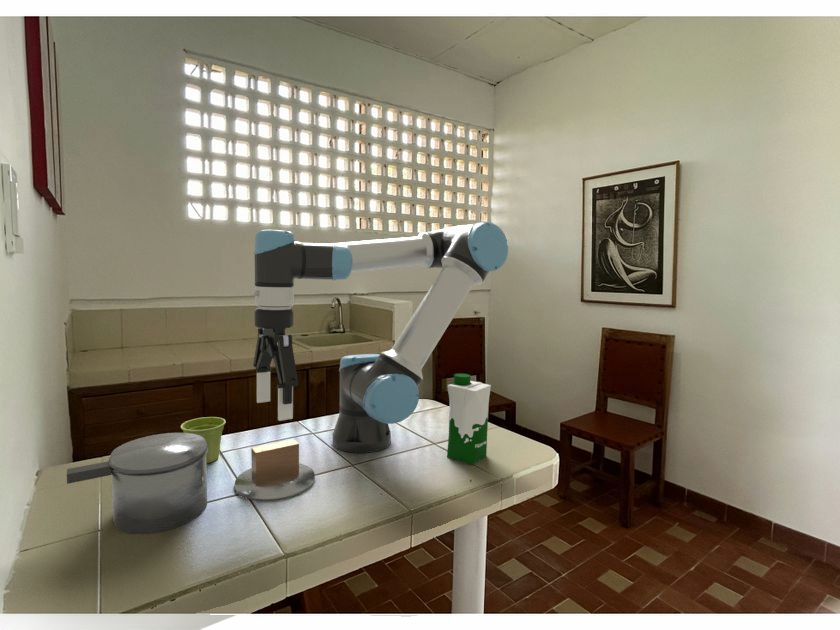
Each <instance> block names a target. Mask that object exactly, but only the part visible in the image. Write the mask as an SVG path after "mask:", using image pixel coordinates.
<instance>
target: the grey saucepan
mask: <svg viewBox="0 0 840 630" xmlns="http://www.w3.org/2000/svg"><path fill="white" fill-rule="evenodd" d="M207 452H208V444H207V443H206V440H205V439H204V438H203V437H202V436H199V435H196V434H191V433H183V432H167V433H159V434H152V435H147V436H143V437H140V438H136V439H132V440H130V441H127V442H125V443H122V444H121V445H119V446H118V447H116V448H114V449H113V450H112V452H111V453H110V456H109V458H108V461H103V462H98V463H93V464H86V465H81V466H75V467H71V468H70V467H69V468H67V469H66V485H68V484H74V483H77V482H78V483H79V482H83V481H88V480H94V479H97V478H103V477H108V476H111V494H112V496H111V499H112V519H113V520H112V522H113V525H114V527H115V528H116V530H118V531H120V532H122V533H126V534H130V535H131V534H133V535H145V534H146V535H147V534H148V535H149V534H154V533H160V532H164V531H168V530H169V531H170V530H172V529H176V528H178V527H181V526H183V525H185V524H188V523H190V522H192V521H193V520H195V519H197V518H198V517H199V516H200V515H201V514H202V513H204V511H205V510H206V508H207V506H208V482H207V479H208V478H207V477H208V475H207V463H206V454H207Z"/></svg>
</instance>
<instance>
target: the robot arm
mask: <svg viewBox="0 0 840 630" xmlns="http://www.w3.org/2000/svg"><path fill="white" fill-rule="evenodd" d="M254 241H255V242H254V252H253V254H254V291H252V292H251V294H252V296H253V297H254V305H255V306H256V307H257V308H255V310H254V326H255V327H256V328H258V329H257V340H256V346H255V351H254V357H253V364H252V366H253V367H254V368H255V371H256V403H257V404H259V403H260V404H261V403H267V402H271V371H272V367H271V364H272V361H273V362H274V365H275V369H276V370H275V371H276V374H277V378H278V382H279V383H278V384H276V389H277V421H279V422H280V421H287V420H292V419H293V418H294V388H295V386H299V381H298V380H299V379H298V374H297V367H296V361H295V354H294V348H293V336H292V335H291V334H288V335H287V334H286V329H290V328H292V327H293V326H294V310H293V309H292V307H293V306H294V305H295V286H294V284H295V283H294V282H295V279H297V280H300V279H303V280H304V279H305V280H307V279H308V280H331V281H336V280H340V281H341V280H347V279H348V278H349V277H350V276H351V274H352V273H361V272H370V271H371V272H372V271H378V270H388V269H389V270H390V269H400V268H407V267H416V266H420V267H422V268H423V269H434V268H435V269H436V268H437V269H439V268H440V269H441V270H440V272H439V273H438V275H437V277H436V278H435V280H434V282H433V283H432V284H431V286H430V287H429V290H428V291H427V293H426V294H425V295H424V297H423V299H422V300H421V302H420V303H419V304H418V306H417V308H416V309H415V311H414V313H413V314H412V316H411V317H410V319H409V320H408V322H407V323H406V325H405V327H404V329H403V330H402V332H401V333H400V335H399V336H398V337H397V339H396V341H395V342H394V344H393V346H392V347H391V349H389V350H386V351H382V352H380V353H371V354H370V353H366V354H364V353H363V354H362V353H361V354H350V355H345V356H343V357H342V358H341V359H340V362H339V369H338V371H339V413H338V417H337V420H336V424H335V426H334V429H333V432H332V439H331V440H332V442H331V443H332V446H333V447H335V448H336V449H337V450H340V451H343V452H348V453H353V454H354V453H355V454H356V453H358V454H360V453H361V454H362V453H373V452H377V451H381V450H384V449H385V448H387V447H389V445H390V444H391V442H392V432H391V430H390V426H389V425H392V424H398V423H401V422H403V421H405V420H406V419H407V418H409V417H410V416H411V415H412V414H413V413H414V411H416V409H417V406H418V404H419V400H420V396H419V393H420V389H419V386H420V384H421V383H422V381H423V380H424V378H423V377H424V376H423V372H422V370H423V367H424V366H425V364H426V363H427V361H428V360H429V358H430V356H431V355H432V352H433V351H434V350H435V348H436V346H437V345H438V343H439V341H440V340H441V338H442V337H443V335H444V333H445V332H446V330H447V328H448V327H449V325H450V324H451V322H452V321H453V319H454V317H455V315H456V314H457V312H458V311H459V309H460V307H461V306H462V304H463V303H464V301H465V299H466V298H467V296H468V295H469V293H471V290H472V288H473V287H478V286H480V285H482V284H483V282H484V281H485V279H486V278H487V276H488V274H489V272H495V271H497V270H499V269H500V268H502V267H503V265H505V263H506V262H507V261H506V260H507V259H508V257H509V256H508V254H509V245H508V240H507V236H506V234H505V233H504V231H503V230H502V229H501V228H500V227H499V226H498V225H497V224H495V223H492V222H486V221H485V222H484V221H477V222H474V223H469V224H457V225H453V226H449V227H444V228H441V229H437V230H432V231H421V232H419V234H418V235H417V236H409V237H407V236H406V237H395V238H394V237H393V238H384V239H383V238H382V239H370V240H360V241H359V240H358V241H357V240H356V241H346V242H345V241H344V242H333V243H332V242H331V243H320V242H318V243H317V242H315V243H313V242H300V241H296V239H295V233H293V232H292V231H289V230H281V229H280V230H279V229H261V230H259V231H257V233H255V240H254Z"/></svg>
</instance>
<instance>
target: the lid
mask: <svg viewBox="0 0 840 630" xmlns="http://www.w3.org/2000/svg"><path fill="white" fill-rule="evenodd" d="M250 449H251V450H250V451H251V452H250V453H251V468H249V469H247V470H245V471H243V472H241V474H239V475H238V476H237V478H236V479H235V481H234V491H235V492H237V493H236V494H239V495H238V496H239V497H241V496H242V497H241V498H243V497H244V498H243V499H246V498H247V499H246V500H249V499H250V501H255V502H274V501H281V500H286V499H290V498H293V497H296V496H299V495H301V494H303V493H304V492H306V491H308V490H309V489H310V488H311V487H312V486H313V485H314V484H313V483H315V480H316V478H315V477H316V475H315V471H314V469H313V468H311V467H310V466H309V465H305V464H303V463H301V462H300V443H299V442H298V441H297V440H296V439H289V440H284V441H278V442H273V443H270V444H269V443H268V444H264V445H258V446H253V447H251V448H250Z"/></svg>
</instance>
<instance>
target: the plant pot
mask: <svg viewBox="0 0 840 630" xmlns="http://www.w3.org/2000/svg"><path fill="white" fill-rule="evenodd" d="M226 423H227V422H226V419H225V418H222V417H217V416H207V417H198V418H193V419H190V420H186V421H184V422H183V423H181V425H180V429H181V430H182V433H191V434H196V435H199V436H202V437H203V438H204V439H205V440H206V443H207V444H208V452H207V454H206V464H210V463H213V462H215V461H216V460H218V459H219V457H220V451H221V442H222V441H221V440H222V434H223V430H224V426H225V425H226Z"/></svg>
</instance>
